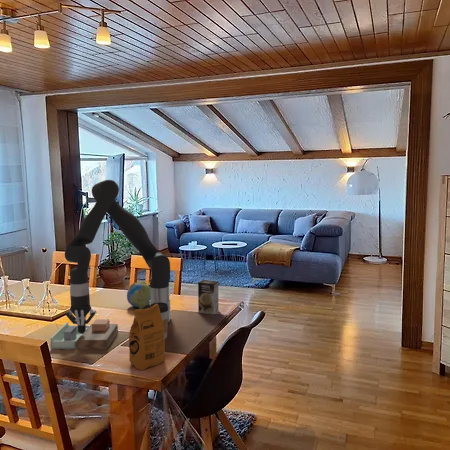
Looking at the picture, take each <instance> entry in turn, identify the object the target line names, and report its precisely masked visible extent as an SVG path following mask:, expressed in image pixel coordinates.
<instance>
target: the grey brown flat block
mask: <svg viewBox="0 0 450 450" xmlns="http://www.w3.org/2000/svg"><path fill="white" fill-rule="evenodd" d="M118 325H119V324H117V323H110V326H109V327H108V329H107V330H106V331H92V323H91V324H90V325H89V327H88V328H87V330H86V331H85V332H84V333H83V334H82V335H81V336H80V338H79V339H78V340H77V344H78V347H77V350H107V349H108V348H109V347H110V346H111V344H112V343H113V341H114V339H115V338H116V336H117V334H118V333H119V329H118V328H119V327H118Z"/></svg>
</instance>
